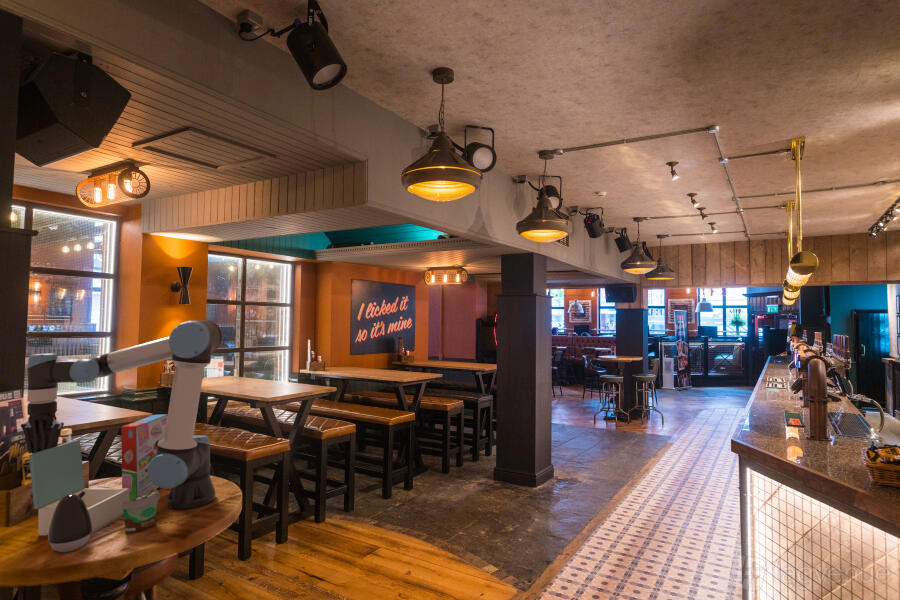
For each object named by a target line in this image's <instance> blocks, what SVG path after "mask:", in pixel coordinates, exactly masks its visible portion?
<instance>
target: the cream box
mask: <svg viewBox="0 0 900 600" xmlns="http://www.w3.org/2000/svg"><path fill="white" fill-rule="evenodd" d="M81 492H85V495H84V496H83V497H82V499H83V501H84V502H85V504H86V506H87V509H88V511H89V514H90V518H91V523H92V532H91V534H90V536H91V535H93V534H95V533H96V532H98V531H100V530H101V529H103V528H106V526H108V525H110V524H112V523H114V522H116V521H117V520H119V519H120V518H122V517H124V512H123V509H121V508H122V504H123V502H129V501H130V496H129V488H122V487H121V488H119V487H117V488H112V487H111V488H107V487H106V488H100V487H99V488H97V487H96V488H95V487H94V488H92V487H91V488H89V487H88V488H83V489H81V490H78V491H76V492H74V493H72V494H75V495H79V494H80V493H81ZM61 499H62V498H60V499H58V500H56V501H54V502H51V503H49V504H47V505H45V506H42V507H40V508H38V518H37V519H38V535H39V534H40V535H39V536H47V535H48V532H49V527H50V523H51V519H52V516H53V513H54V511H55V508H56V506H57V505H58V503H59V501H60V500H61Z"/></svg>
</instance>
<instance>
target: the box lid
mask: <svg viewBox="0 0 900 600" xmlns="http://www.w3.org/2000/svg"><path fill="white" fill-rule="evenodd" d="M28 459H29V471H30V480H31V481H30V482H31V491H32V501H33V509H34V510H35V509H36V510H37V509H39V508H42V507H44V506H46V505H48V504H51V503H53V502H55V501H57V500H60V499H62V498H63V497H65V496H67V495H70V494H73V493H75V492H77V491H80V490H82V489H84V488H85V487H86V486H85V477H84V466H83V457H82V447H81V438H80V439H75V440H71V441H69V442H65V443H62V444H59V445H57V446H55V447H52V448H49V449H46V450H43V451H40V452H37V453H34V454H33V453H29V454H28Z"/></svg>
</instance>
